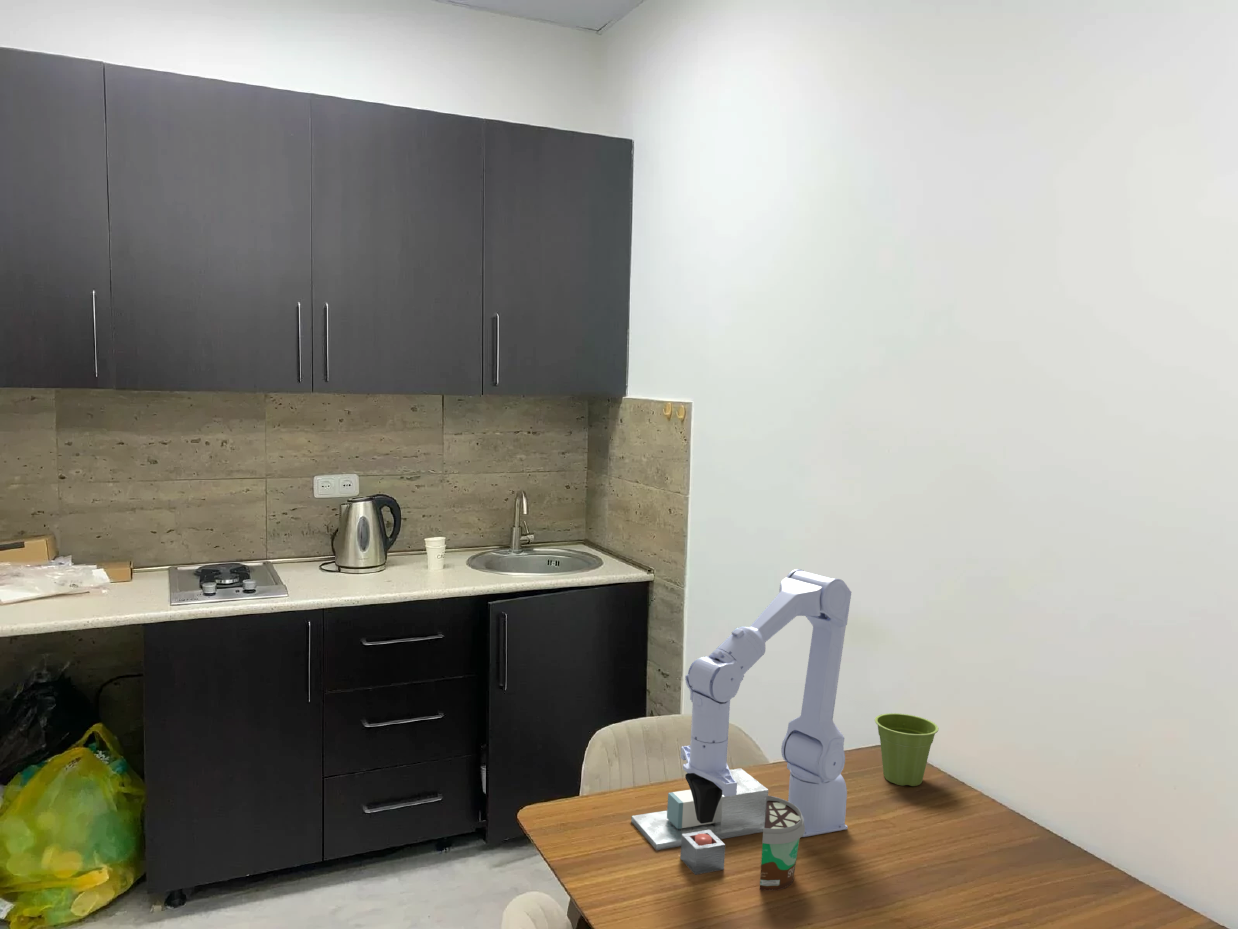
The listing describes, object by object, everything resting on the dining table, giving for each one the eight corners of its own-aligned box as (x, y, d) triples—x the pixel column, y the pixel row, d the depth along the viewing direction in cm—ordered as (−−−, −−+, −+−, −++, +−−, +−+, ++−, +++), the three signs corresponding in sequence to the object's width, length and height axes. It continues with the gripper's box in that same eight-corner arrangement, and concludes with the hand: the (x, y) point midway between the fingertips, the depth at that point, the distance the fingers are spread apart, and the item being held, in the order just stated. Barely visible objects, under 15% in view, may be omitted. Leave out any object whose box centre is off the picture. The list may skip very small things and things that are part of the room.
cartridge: (737, 806, 158) (739, 781, 157) (749, 817, 154) (751, 791, 154) (666, 818, 152) (668, 791, 152) (677, 829, 149) (679, 802, 148)
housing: (738, 804, 161) (740, 767, 161) (768, 831, 152) (771, 791, 152) (631, 821, 153) (633, 782, 152) (656, 850, 144) (658, 808, 143)
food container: (801, 902, 131) (806, 836, 130) (758, 895, 132) (763, 829, 132) (801, 859, 143) (805, 799, 142) (762, 853, 145) (766, 793, 144)
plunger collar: (708, 853, 144) (709, 829, 143) (723, 869, 139) (725, 844, 139) (680, 858, 142) (681, 834, 141) (695, 875, 137) (696, 849, 137)
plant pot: (936, 774, 179) (941, 719, 178) (931, 798, 168) (935, 739, 167) (875, 762, 184) (879, 708, 183) (866, 784, 173) (870, 727, 172)
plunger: (705, 857, 142) (706, 832, 142) (713, 865, 140) (714, 840, 139) (690, 859, 141) (692, 835, 141) (698, 868, 139) (700, 843, 138)
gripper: (665, 722, 144) (661, 803, 145) (709, 757, 130) (704, 847, 132) (704, 717, 147) (700, 797, 148) (751, 752, 133) (746, 840, 134)
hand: (704, 821), depth 140 cm, fingers closed
